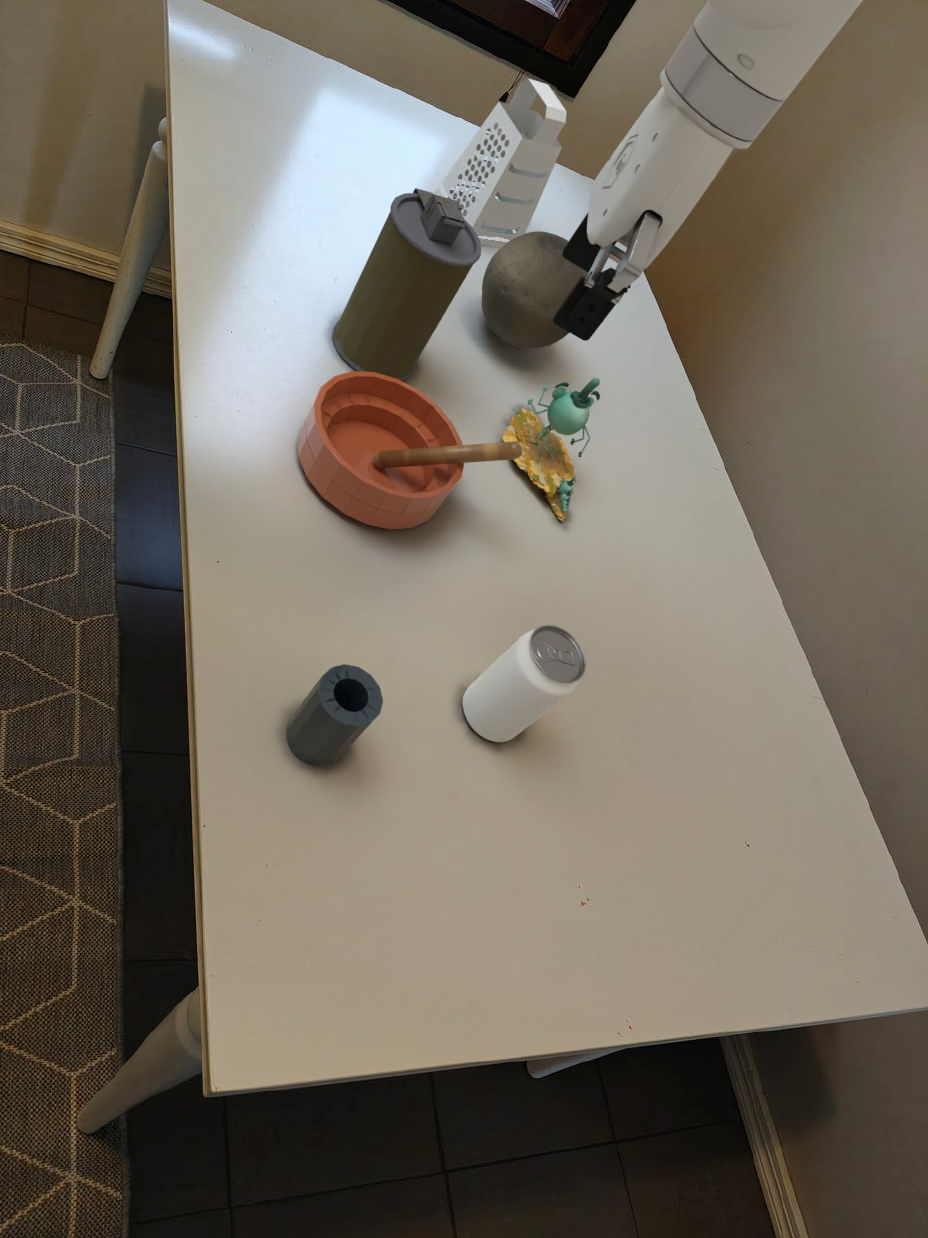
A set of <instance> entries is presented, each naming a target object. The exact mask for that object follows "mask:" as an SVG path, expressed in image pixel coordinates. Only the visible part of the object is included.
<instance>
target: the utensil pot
mask: <svg viewBox="0 0 928 1238" xmlns="http://www.w3.org/2000/svg"><path fill="white" fill-rule="evenodd" d="M383 703H384V699H383V694H382V690H381V687H380V685H379V684H378V682H377V681H376V679H375V678H374V677H373V675H372V674H370V673H369V672H367V671H365V670H364V669H363V668H361V667H360V666H356V665H351V664H347V663H346V664H340V665H336V666H332V667H330V668H329V669H328V670H327V671H326V672H325V673H324V674H322V675H321V677H320V678H319V680H318V681H317V682H316V683H315V685H314V686H313V687H312V689H311V690H310V691H309V693H308V694H307V695H306V697H305V698H304V699H303V700H302V702H301V704H300V705H299V706H298V708H297V709H296V710H295V711H294V713H293V714H292V716H291V717H290V720H289V721H288V724H287V727H286V740H287V743H288V746H289V747H290V750H291V751H292V752H293V754H294V755H295V756H296V757H297V758H298V759H300V760H301V761H303V762H304V763H307V764H310V765H312V766H313V765H314V766H328V765H330V764H333V763H335V762H336V761H337V760H338V759H340V758H341V757H342V755H343V754H344V753H345V752H347V750H348V749H350V747H351V746H352V745H353V744H354V743H355V741H356V740H357V739H358V738H359V737H360V736H361V735H362V734H363V733H364V732H365V731H366V730H367V728H369V726H370V725H372V723H373V722H374V721H375V720H376V719H377V717H379V716H380V714H381V712H382V707H383Z"/></svg>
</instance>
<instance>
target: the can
mask: <svg viewBox="0 0 928 1238" xmlns="http://www.w3.org/2000/svg"><path fill="white" fill-rule="evenodd" d="M585 655H586V654H585V653H584V650H583V648H582V646H581V644H580V643H579V641H578V640H577V638H576V637H574V635H572V634H571V633H570V632H569V631H568V630H567V629H564V628H562V627H560V626H557V625H553V624H544V625H540V626H539V627H537V628H536V629H532V630H529V631H527V632H525V633H524V634H523V635H522V636H521V637H519V638H518V639H517V640H516V641H515V642H514V643H512V644H511V646H509V647H508V648H507V649H506V650H505V651H504V652H503V653H502V654H501V655H500V656H499V657H498V658H497V659H496V660H495V661H493V663H492V664H490V666H488V667H487V668H486V669H485V670H484V671H483V672H482V673H481V674H480V675H479V676H478V677H477V678H476V679H475V680H473V682H472V683H471V684H470V685H469V686H468V687H467V688H466V690H465V691H464V694H463V697H462V709H463V713H464V717H465V718H466V721H467V723H468V725H469V726H470V727H471V729H472V730H473V731H474V732H475V733H476V734H477V735H479V736H481V737H482V738H484V739H486V740H488V741H491V742H494V743H506V742H508V741H511V740H513V739H514V738H515V737H517V736H518V735H520V733H522V732H523V731H525V730H526V729H527V728H528V727H530V726H531V725H532V724H533V723H535V722H536V721H537V720H538V719H540V718H541V717H542V716H544V715H545V714H546V713H547V712H548V711H550V710H551V709H553V707H556V705H557V704H559V703H560V702H561V701H563V700H564V699H566V697H567V696H568V695H570V694H571V693H572V692H573V691H574V690H575V689H576V688H577V686H578V684H579V682H580V679H582V677H583V676H584V674H585V672H586V667H587V660H586V656H585Z"/></svg>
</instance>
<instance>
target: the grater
mask: <svg viewBox="0 0 928 1238" xmlns="http://www.w3.org/2000/svg"><path fill="white" fill-rule="evenodd" d="M538 95H539V97H540V98H541V100H542V102H543V103H544V104H545V105H546V107H545V108H546V109H545V117H544V118H543V117H542V115H541V114H540V113H539V112H538V111H535V110H531V107H532V105H533V103H534V102H535V99H536V98H537V96H538ZM567 113H568V112H567V110H566V108H565V106H563V104H562V103H561V101H560V100H559V98H558V96H557V95H556V94H555V92H554V91H553V89H552V88H551V87H550V85H549V84H547V83H544V82H542V81H541V82H540V81H538V80H534V79H532V78H526V79H523V80H521V81H520V82H519V85H518V86H517V88H516V90H515V92H514V94H513V96H512V98H511V99H510V101H509V103H506V102H502V101H498V102H497V104H496V105H495V106H494V108H493V109H492V111H491V112H490V114H489V115H488V116H487V118H486V119H485V120H484V122H483V123H482V124H481V126H480V127H479V129H478V130H477V132H476V133H475V135H474V136H473V137H472V138H471V140H470V142H469V143H468V145H467V146H466V147H465V149H464V150H463V151H462V152H461V154H460V155H459V157H458V158H457V159H456V161H455V163H454V164H453V165H452V167H451V169H450V170H449V171H448V172H447V173H446V175H445V177H444V178H443V179H442V180H441V183H442V184H443V187H444V189H445V191H446V193H447V195H448V197H449V199H452V200H456V201H458V200H460V201H459V204H460V206H463V209H461V213H462V215H463V217H464V219H465V220H466V221H467V222H468V223H469V224H470V226H471V227H472V228H473V229H474V231H475V233H476V234H477V236H487V237H500V238H504V239H508V240H512V239H514V238H516V237H518V236H521V235H523V234H525V233H527V230H528V228H529V225H530V223H531V221H532V218H533V216H534V214H535V211H536V209H537V207H538V204H539V202H540V200H541V197H542V195H543V193H544V190H545V188H546V187H547V184H548V181H549V179H550V177H551V174H552V172H553V170H554V168H555V166H556V163H557V161H558V159H559V156H560V154H561V151H562V149H563V146H562V145H561V144H560V142H559V141H558V139H557V138H558V137H559V135H560V133H561V132H562V130H563V128H564V126H565V125H566V123H567ZM488 129H489V131H490V132H489V133H488V132H487V131H488ZM503 135H504V136H503ZM481 155H482V156H481ZM485 157H487V159H485ZM495 159H498V161H495ZM463 181H465V183H463ZM473 183H475V185H473ZM456 185H457V186H460V188H459V190H458V191H456ZM482 185H484V187H482ZM452 187H453V188H454V190H450V189H451V188H452ZM465 187H467V188H469V190H468V191H467V192H466V191H465ZM475 189H479V192H478V193H476V192H475ZM460 190H463V192H461V191H460ZM469 191H472V194H469V195H468V193H469ZM433 194H435V195H438V196H442V197H444V196H443V195H442V193H441V191H440V189H439V188H438V187H437V188H436V189H435V191H434V193H433ZM471 195H472V196H471ZM495 196H497V197H498V199H499V200H500V201H499V200H498V199H496V198H495ZM454 197H456V198H455V199H454ZM475 197H476V198H475ZM463 199H465V201H463ZM472 200H473V201H474V202H473V201H472ZM467 202H469V206H468V207H467V205H466V204H467ZM465 210H466V215H464V211H465ZM483 223H484V224H485V226H486V227H491V228H497V229H504V230H505V232H506V233H505V232H498V231H492V230H485V229H484V228H482V225H483ZM514 229H515V231H516V233H513V231H512V230H514ZM479 240H480V243H481V246H485V247H492V248H499V249H500V248H502V247H503V246H504V245H505V244H506V243H508V242H502V241H495V240H488V239H481V238H479Z"/></svg>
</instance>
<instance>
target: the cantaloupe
mask: <svg viewBox="0 0 928 1238" xmlns="http://www.w3.org/2000/svg"><path fill="white" fill-rule="evenodd" d="M568 242H569V240H568V239H566V238H564V237H562V236H561V235H558V234H555V233H551V232H547V231H541V230H540V231H530V232H526V233H525V234H523V235H521V236H518V237H516V238H514V239H512V240H510V241H509V242H508V243H506V244H505V245H504V246H503V247H502V248H499V249H498V250H497V251H496V252H495V253H494V255H493V256H492V257H491V258H490V260H489V262H488V263H487V266H486V268H485V271H484V274H483V278H482V284H481V302H480V303H481V310H482V314H483V316H484V320H485V323H486V324H487V326H488V327H489V329H490V330H491V331H492V333H494V334H495V335H496V336H497V338H499V339H500V340H501V341H502V342H504V343H506V344H509V345H511V346H513V347H518V348H523V349H541V348H544V347H549V346H552V345H554V344H556V343H558V342H559V341H561V340H563V339H564V338H565V337H566V336H568V335H569V334H571V333H570V332H568V331H566V330H564V329H563V328H561V327H559V326H557V325H556V324H554V322H553V319H554V314H555V313H556V312H557V310H558V309H559V307H560V306H561V304H562V303H563V302H564V300H565V299H566V297H567V296H568V295H569V293H570V292H571V290H572V289H573V287H574V286H575V285H576V283H577V282H578V280H579V279H580V277H581V276H582V277H584V278H586V277H587V275H588V272H587V271H585V270H583V269H582V268H580V267H578V266H577V265H575V264H573V263H572V262H570V261H568V260H567V259H565V258H564V257H563V255H562V254H563V249H564V248H565V246H566V245H567V243H568Z"/></svg>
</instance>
